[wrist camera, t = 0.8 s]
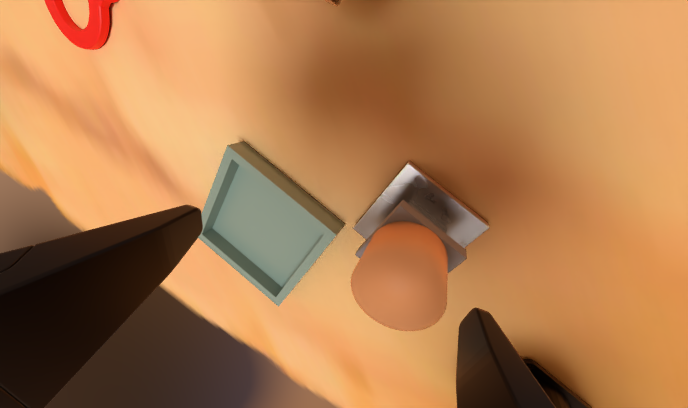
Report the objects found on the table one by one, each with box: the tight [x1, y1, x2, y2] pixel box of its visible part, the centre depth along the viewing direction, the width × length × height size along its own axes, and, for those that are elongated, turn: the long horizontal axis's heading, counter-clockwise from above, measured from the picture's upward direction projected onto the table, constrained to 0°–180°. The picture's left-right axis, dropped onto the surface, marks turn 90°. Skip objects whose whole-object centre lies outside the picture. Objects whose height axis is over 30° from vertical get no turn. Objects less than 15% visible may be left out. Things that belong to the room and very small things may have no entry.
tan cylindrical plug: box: [351, 200, 467, 331], centre depth 15 cm, size 5×5×4 cm
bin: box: [198, 142, 345, 306], centre depth 25 cm, size 12×12×2 cm
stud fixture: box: [353, 161, 489, 248], centre depth 19 cm, size 7×7×4 cm
